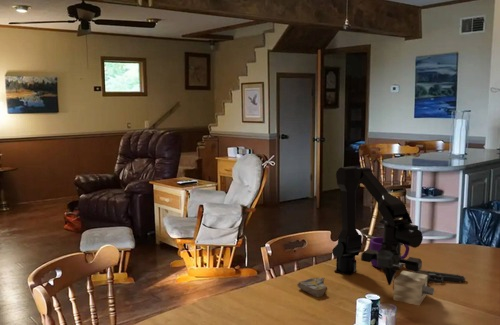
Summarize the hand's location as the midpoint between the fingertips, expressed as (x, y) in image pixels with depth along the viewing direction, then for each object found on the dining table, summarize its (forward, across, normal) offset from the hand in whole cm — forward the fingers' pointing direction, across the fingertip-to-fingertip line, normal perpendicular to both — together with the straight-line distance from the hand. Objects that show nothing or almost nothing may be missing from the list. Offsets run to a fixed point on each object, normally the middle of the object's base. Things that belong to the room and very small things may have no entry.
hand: (389, 284), depth 160 cm
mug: (+3, -8, +29) cm, 30 cm away
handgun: (+3, +12, +18) cm, 22 cm away
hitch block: (+3, +7, 0) cm, 7 cm away
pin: (+1, +8, 0) cm, 8 cm away
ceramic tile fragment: (+4, -22, -12) cm, 26 cm away
